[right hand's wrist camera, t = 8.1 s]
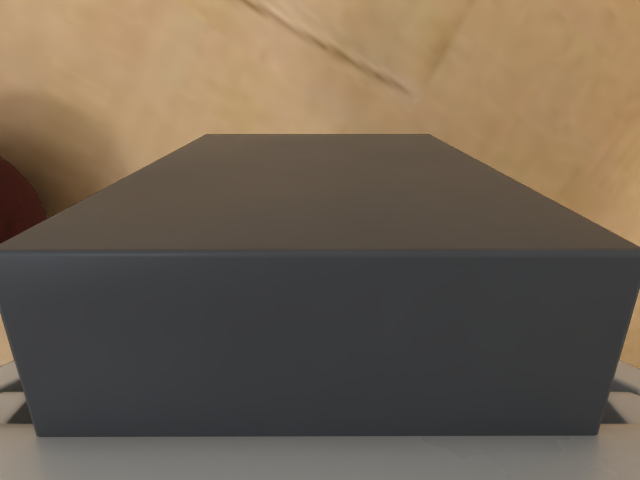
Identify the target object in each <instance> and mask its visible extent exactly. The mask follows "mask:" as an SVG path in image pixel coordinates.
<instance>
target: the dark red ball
mask: <svg viewBox="0 0 640 480" xmlns="http://www.w3.org/2000/svg"><path fill="white" fill-rule="evenodd" d="M44 220H46V213H45V211H44V208H43V206H42V204H41V202H40V200H39V198H38V195H37V193H36V191H35V190H34V189H33V187H32V186H31V184H30V183H29V182H28V180H27V179H26V178H25V177H24V176H23V175H22V174H21V173H20V172H19V171H18V170H17V169H16V168H15V167H14V166H13V165H11V164H10V163H9V162H7V161H6V160H5V159H3V158H2V157H0V244H1V243H3V242H5V241H7V240H9V239H11V238H12V237H14V236H16V235H18V234H20V233H22V232H24V231H26V230H27V229H29V228H31V227H33V226H35V225H37V224H39V223H41V222H42V221H44Z"/></svg>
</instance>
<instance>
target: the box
mask: <svg viewBox="0 0 640 480" xmlns="http://www.w3.org/2000/svg"><path fill="white" fill-rule="evenodd" d="M639 289H640V247H639V246H637V245H635V244H633V243H631V242H630V241H628V240H626V239H624V238H622V237H620V236H618V235H616V234H615V233H613V232H611V231H609V230H607V229H605V228H603V227H602V226H600V225H598V224H596V223H594V222H592V221H590V220H588V219H587V218H585V217H583V216H581V215H579V214H577V213H575V212H574V211H572V210H570V209H568V208H566V207H564V206H562V205H560V204H559V203H557V202H555V201H553V200H551V199H549V198H547V197H545V196H544V195H542V194H540V193H538V192H536V191H534V190H532V189H531V188H529V187H527V186H525V185H523V184H521V183H519V182H517V181H516V180H514V179H512V178H510V177H508V176H506V175H504V174H503V173H501V172H499V171H497V170H495V169H493V168H491V167H489V166H488V165H486V164H484V163H482V162H480V161H478V160H476V159H474V158H473V157H471V156H469V155H467V154H465V153H463V152H461V151H460V150H458V149H456V148H454V147H452V146H450V145H448V144H446V143H445V142H443V141H441V140H439V139H437V138H435V137H433V136H432V135H429V134H206V135H204V136H202V137H200V138H198V139H196V140H195V141H193V142H191V143H189V144H187V145H185V146H183V147H181V148H180V149H178V150H176V151H174V152H172V153H170V154H168V155H166V156H165V157H163V158H161V159H159V160H157V161H155V162H153V163H151V164H150V165H148V166H146V167H144V168H142V169H140V170H138V171H136V172H134V173H133V174H131V175H129V176H127V177H125V178H123V179H121V180H119V181H118V182H116V183H114V184H112V185H110V186H108V187H106V188H104V189H103V190H101V191H99V192H97V193H95V194H93V195H91V196H89V197H88V198H86V199H84V200H82V201H80V202H78V203H76V204H74V205H73V206H71V207H69V208H67V209H65V210H63V211H61V212H59V213H58V214H56V215H54V216H52V217H50V218H48V219H46V220H44V221H42V222H41V223H39V224H37V225H35V226H33V227H31V228H29V229H27V230H26V231H24V232H22V233H20V234H18V235H16V236H14V237H12V238H11V239H9V240H7V241H5V242H3V243H1V244H0V313H1V317H2V320H3V323H4V327H5V330H6V334H7V337H8V341H9V344H10V347H11V351H12V354H13V358H14V361H15V364H16V368H17V371H18V375H19V378H20V382H21V385H22V388H23V392H24V395H25V399H26V402H27V405H28V409H29V412H30V416H31V419H32V423H33V426H34V429H35V433H36V436H38V437H259V436H595V435H597V434H598V432H599V428H600V425H601V421H602V418H603V414H604V411H605V407H606V404H607V400H608V397H609V393H610V390H611V386H612V383H613V379H614V376H615V372H616V369H617V365H618V362H619V358H620V355H621V352H622V348H623V345H624V341H625V338H626V334H627V331H628V327H629V324H630V320H631V317H632V313H633V310H634V306H635V303H636V299H637V296H638V292H639Z"/></svg>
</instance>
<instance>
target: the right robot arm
mask: <svg viewBox="0 0 640 480" xmlns="http://www.w3.org/2000/svg"><path fill="white" fill-rule="evenodd" d="M0 480H640V369H639V368H637V367H634V366H632V365H630V364H628V363H625V362H623V361H621V360H619V362H618V365H617V369H616V372H615V376H614V379H613V383H612V386H611V390H610V393H609V397H608V400H607V404H606V407H605V411H604V414H603V418H602V421H601V425H600V428H599V432H598V434H597V435H595V436H259V437H38V436H36V433H35V429H34V426H33V423H32V419H31V416H30V412H29V409H28V405H27V402H26V399H25V395H24V392H23V388H22V385H21V382H20V378H19V375H18V371H17V368H16V364H15V361H11V362H9V363H7V364H4V365H2V366H0Z"/></svg>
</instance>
